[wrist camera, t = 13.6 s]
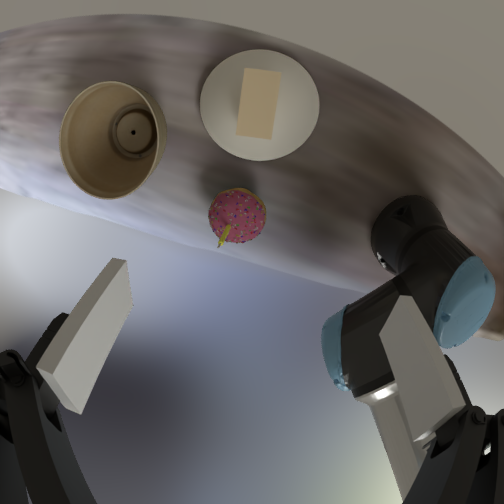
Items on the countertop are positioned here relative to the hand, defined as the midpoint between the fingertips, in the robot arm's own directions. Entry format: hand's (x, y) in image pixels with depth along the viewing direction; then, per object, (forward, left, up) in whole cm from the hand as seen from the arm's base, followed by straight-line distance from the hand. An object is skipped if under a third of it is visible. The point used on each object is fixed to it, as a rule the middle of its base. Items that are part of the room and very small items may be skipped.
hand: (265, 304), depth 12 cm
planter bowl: (+21, -3, -33) cm, 39 cm away
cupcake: (+3, +8, -33) cm, 34 cm away
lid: (+2, -8, -32) cm, 33 cm away
